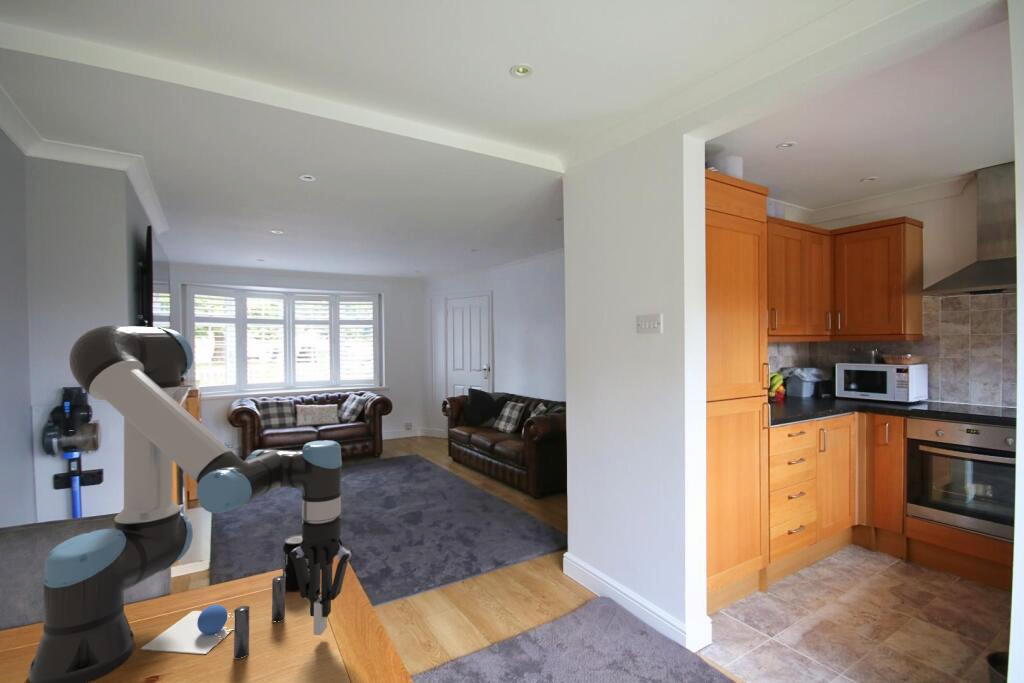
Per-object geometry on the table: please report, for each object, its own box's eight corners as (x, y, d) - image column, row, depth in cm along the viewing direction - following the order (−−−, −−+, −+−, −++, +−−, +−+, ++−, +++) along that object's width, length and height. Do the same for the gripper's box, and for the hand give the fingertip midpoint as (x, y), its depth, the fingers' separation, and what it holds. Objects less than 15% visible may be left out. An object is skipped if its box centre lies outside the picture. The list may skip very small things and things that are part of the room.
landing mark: (140, 649, 98) (140, 648, 98) (193, 611, 112) (193, 610, 112) (205, 654, 96) (205, 653, 96) (250, 615, 110) (250, 614, 110)
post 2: (269, 622, 108) (269, 581, 108) (276, 615, 110) (276, 575, 110) (280, 622, 107) (281, 581, 107) (287, 616, 110) (287, 576, 110)
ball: (216, 615, 101) (214, 641, 101) (234, 601, 106) (232, 626, 106) (192, 611, 101) (189, 638, 101) (210, 598, 107) (209, 623, 107)
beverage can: (300, 593, 120) (300, 544, 120) (276, 590, 121) (277, 542, 121) (316, 581, 126) (316, 534, 126) (293, 578, 128) (294, 532, 128)
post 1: (230, 658, 95) (231, 612, 95) (239, 650, 98) (240, 605, 98) (243, 659, 95) (243, 613, 95) (251, 651, 97) (252, 606, 97)
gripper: (359, 512, 104) (358, 623, 104) (301, 509, 106) (300, 619, 106) (343, 525, 97) (342, 644, 97) (281, 522, 98) (280, 639, 98)
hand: (320, 631), depth 101 cm, fingers closed
